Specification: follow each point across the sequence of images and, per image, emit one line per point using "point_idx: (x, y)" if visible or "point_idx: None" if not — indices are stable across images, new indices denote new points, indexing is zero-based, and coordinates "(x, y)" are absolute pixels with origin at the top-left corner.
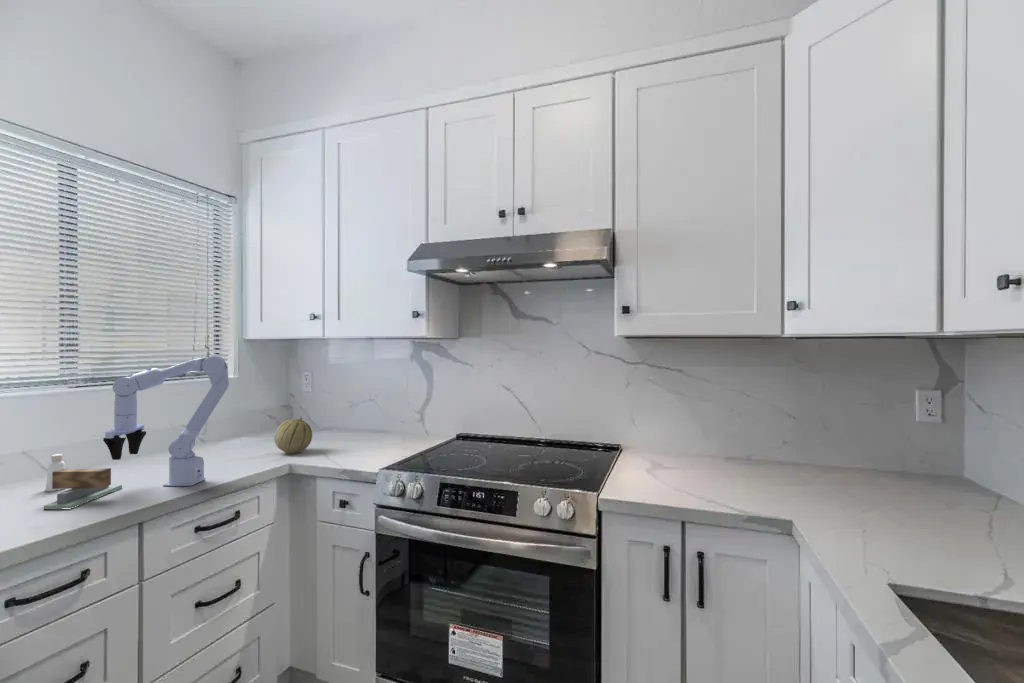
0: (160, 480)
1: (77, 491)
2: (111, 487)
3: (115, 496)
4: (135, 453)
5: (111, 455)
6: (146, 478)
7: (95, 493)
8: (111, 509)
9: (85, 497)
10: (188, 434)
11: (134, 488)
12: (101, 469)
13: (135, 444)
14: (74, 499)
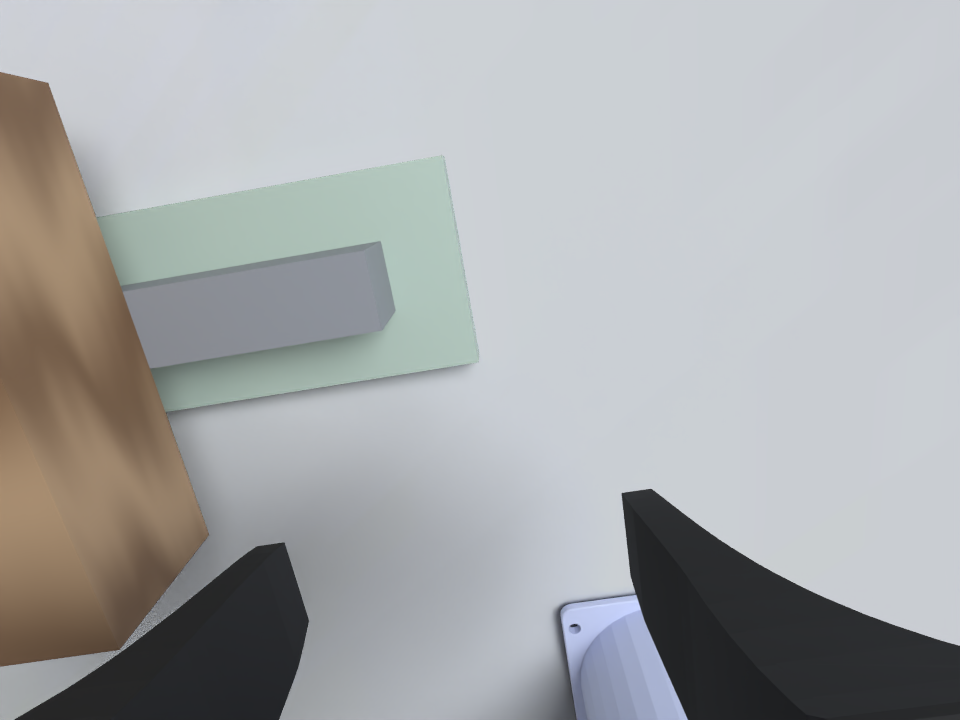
0: (732, 464)
1: None
2: (391, 344)
3: (292, 477)
4: (631, 574)
5: (215, 586)
6: (801, 295)
7: (219, 367)
8: (76, 665)
9: None
10: None
11: (495, 445)
12: (42, 599)
13: (688, 685)
14: None
